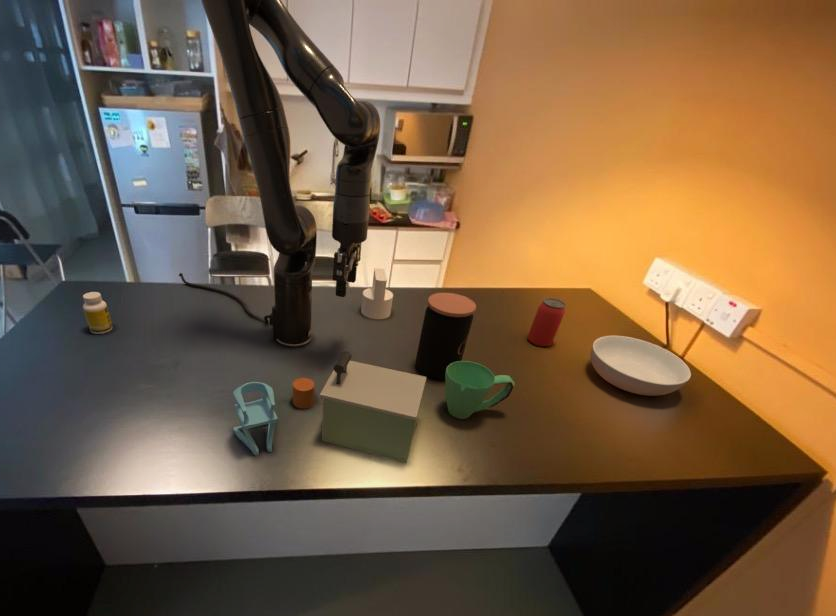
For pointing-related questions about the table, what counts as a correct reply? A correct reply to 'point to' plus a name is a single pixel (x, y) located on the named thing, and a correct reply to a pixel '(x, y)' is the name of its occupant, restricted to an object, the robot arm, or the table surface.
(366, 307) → the base with upright slab
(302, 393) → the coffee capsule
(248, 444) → the chair
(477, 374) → the mug
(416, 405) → the box lid
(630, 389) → the serving bowl
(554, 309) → the beer can
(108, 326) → the supplement bottle
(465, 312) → the coffee jar
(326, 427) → the pale green hollow box
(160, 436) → the table surface
